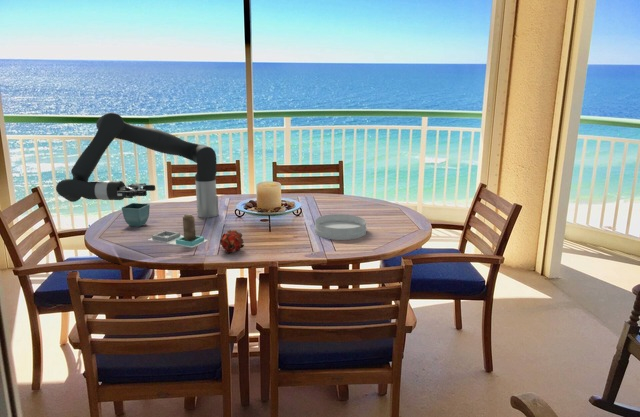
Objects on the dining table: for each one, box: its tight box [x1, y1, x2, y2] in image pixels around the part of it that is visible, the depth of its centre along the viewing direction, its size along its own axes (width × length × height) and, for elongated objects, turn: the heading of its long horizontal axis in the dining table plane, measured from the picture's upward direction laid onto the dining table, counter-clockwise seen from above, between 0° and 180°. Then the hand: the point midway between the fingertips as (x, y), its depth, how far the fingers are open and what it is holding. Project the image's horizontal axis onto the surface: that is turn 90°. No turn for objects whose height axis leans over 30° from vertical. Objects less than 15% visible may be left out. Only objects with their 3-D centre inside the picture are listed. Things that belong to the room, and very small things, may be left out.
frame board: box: [147, 230, 209, 248], centre depth 194 cm, size 22×10×3 cm, turn 65°
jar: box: [182, 213, 197, 242], centre depth 190 cm, size 4×4×11 cm
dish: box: [314, 213, 367, 241], centre depth 209 cm, size 22×22×5 cm
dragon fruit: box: [219, 229, 245, 255], centre depth 184 cm, size 8×8×12 cm
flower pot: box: [121, 202, 151, 228], centre depth 216 cm, size 9×9×9 cm
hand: (150, 190), depth 190 cm, fingers open, 8 cm apart
